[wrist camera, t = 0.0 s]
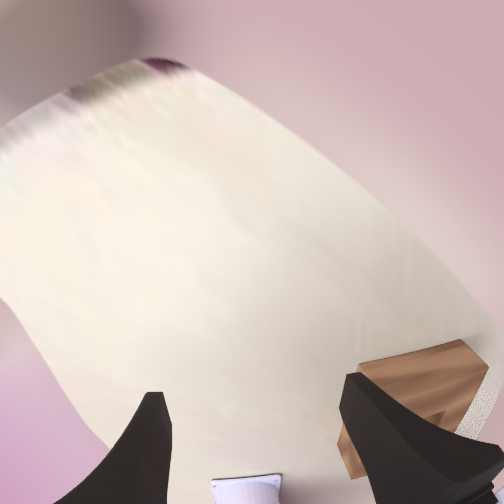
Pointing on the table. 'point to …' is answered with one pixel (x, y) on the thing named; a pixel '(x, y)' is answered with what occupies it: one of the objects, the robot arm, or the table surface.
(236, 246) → the table surface
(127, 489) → the robot arm
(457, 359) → the socket block
